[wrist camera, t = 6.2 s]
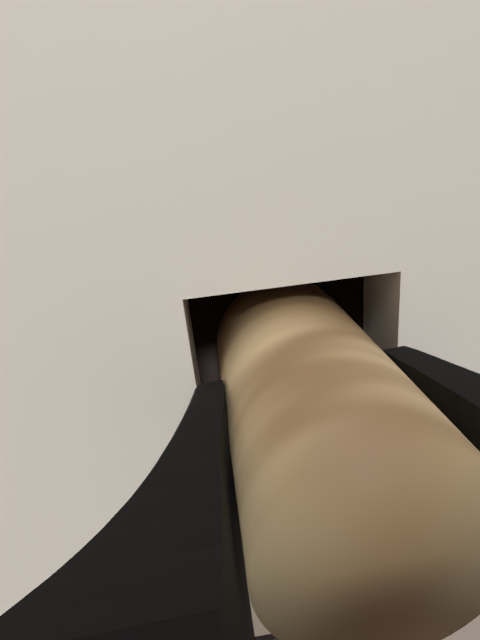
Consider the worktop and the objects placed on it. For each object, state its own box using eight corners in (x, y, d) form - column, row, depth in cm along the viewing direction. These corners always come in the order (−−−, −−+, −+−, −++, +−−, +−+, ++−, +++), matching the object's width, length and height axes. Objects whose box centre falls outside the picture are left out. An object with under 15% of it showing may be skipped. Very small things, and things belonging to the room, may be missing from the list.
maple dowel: (341, 268, 13) (543, 424, 6) (345, 386, 14) (509, 635, 7) (207, 287, 13) (230, 477, 5) (225, 405, 14) (262, 682, 7)
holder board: (655, -80, 11) (782, -140, 8) (530, 524, 18) (578, 579, 16) (-200, -9, 10) (-323, -57, 7) (45, 606, 17) (23, 677, 15)
